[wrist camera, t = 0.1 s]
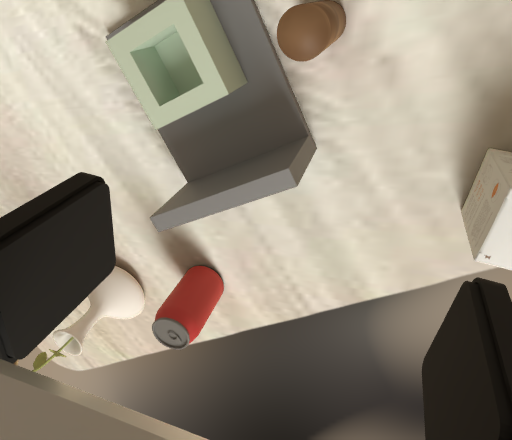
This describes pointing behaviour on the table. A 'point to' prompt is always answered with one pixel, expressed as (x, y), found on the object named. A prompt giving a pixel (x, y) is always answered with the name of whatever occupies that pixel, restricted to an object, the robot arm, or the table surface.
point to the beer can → (187, 307)
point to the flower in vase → (99, 313)
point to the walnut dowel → (310, 29)
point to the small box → (491, 211)
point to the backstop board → (237, 129)
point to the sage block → (177, 59)
